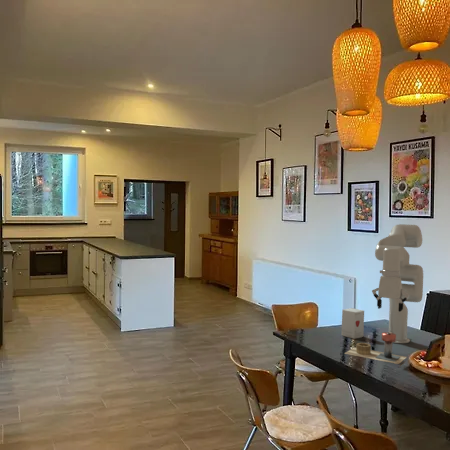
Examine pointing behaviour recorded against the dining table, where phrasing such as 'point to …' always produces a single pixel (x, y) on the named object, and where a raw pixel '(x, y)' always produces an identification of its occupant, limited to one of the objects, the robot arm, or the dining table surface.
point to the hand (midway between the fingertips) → (389, 309)
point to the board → (373, 354)
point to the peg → (388, 343)
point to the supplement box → (352, 323)
